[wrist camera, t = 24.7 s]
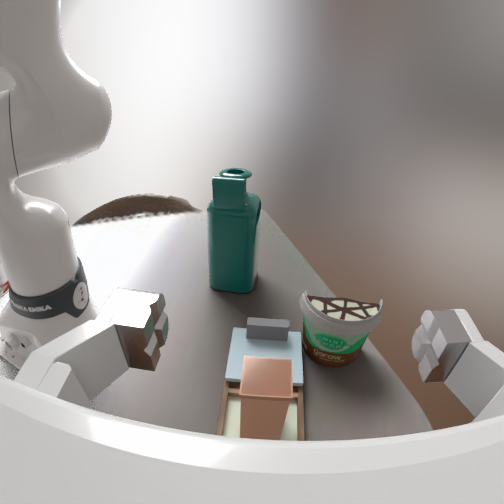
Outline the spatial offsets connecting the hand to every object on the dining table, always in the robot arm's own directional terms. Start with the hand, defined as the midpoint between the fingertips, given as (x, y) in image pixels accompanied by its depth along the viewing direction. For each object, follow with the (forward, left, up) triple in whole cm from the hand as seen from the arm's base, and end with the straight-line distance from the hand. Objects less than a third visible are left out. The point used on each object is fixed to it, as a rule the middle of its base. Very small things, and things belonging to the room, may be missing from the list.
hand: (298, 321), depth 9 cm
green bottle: (-7, +43, -30) cm, 53 cm away
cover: (0, +23, -28) cm, 37 cm away
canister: (0, +12, -29) cm, 32 cm away
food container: (+10, +25, -30) cm, 41 cm away
